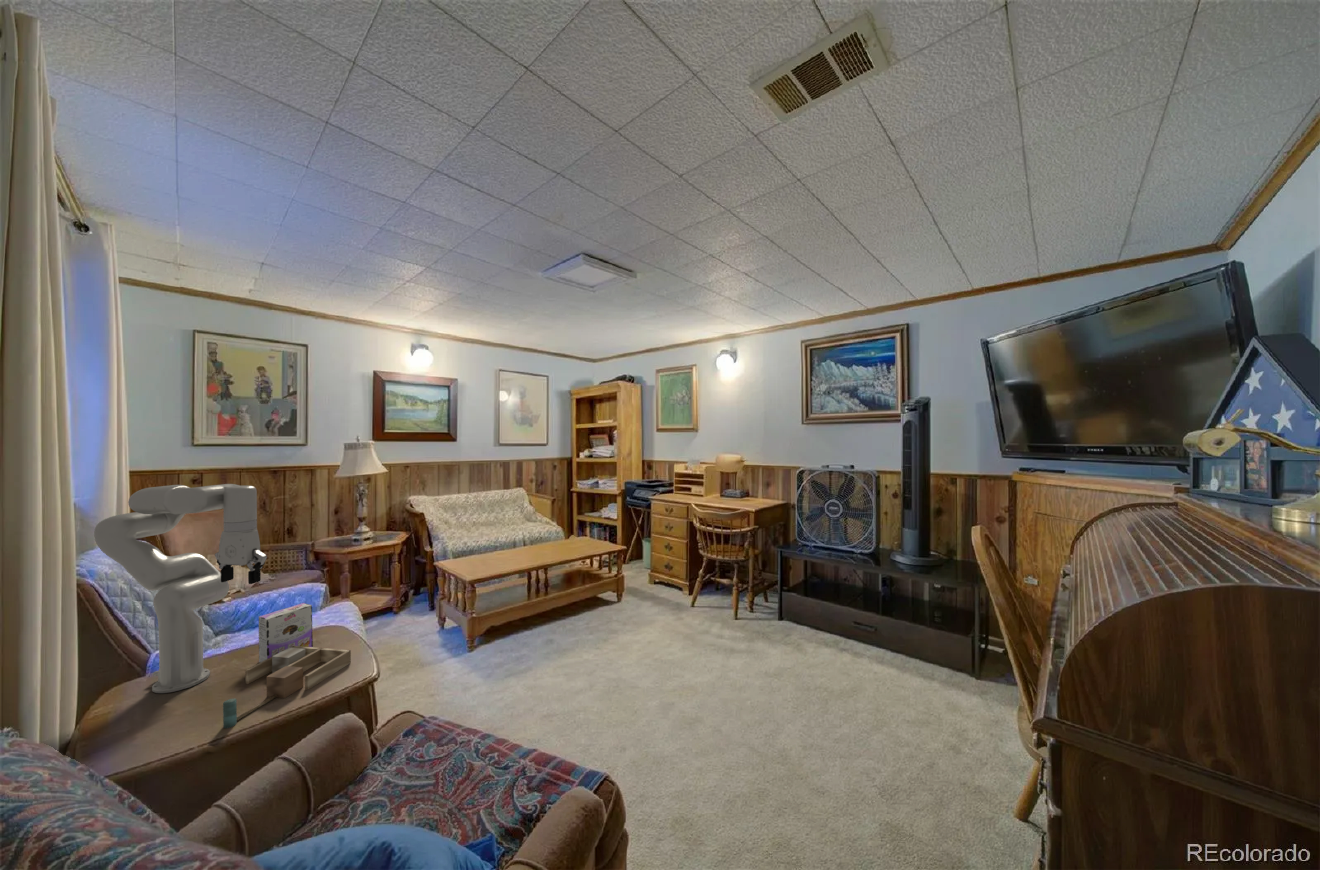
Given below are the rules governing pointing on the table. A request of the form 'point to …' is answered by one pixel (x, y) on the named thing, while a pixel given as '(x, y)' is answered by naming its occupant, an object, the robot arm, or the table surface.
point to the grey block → (286, 658)
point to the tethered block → (277, 687)
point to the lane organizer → (307, 664)
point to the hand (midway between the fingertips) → (240, 581)
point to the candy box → (285, 630)
